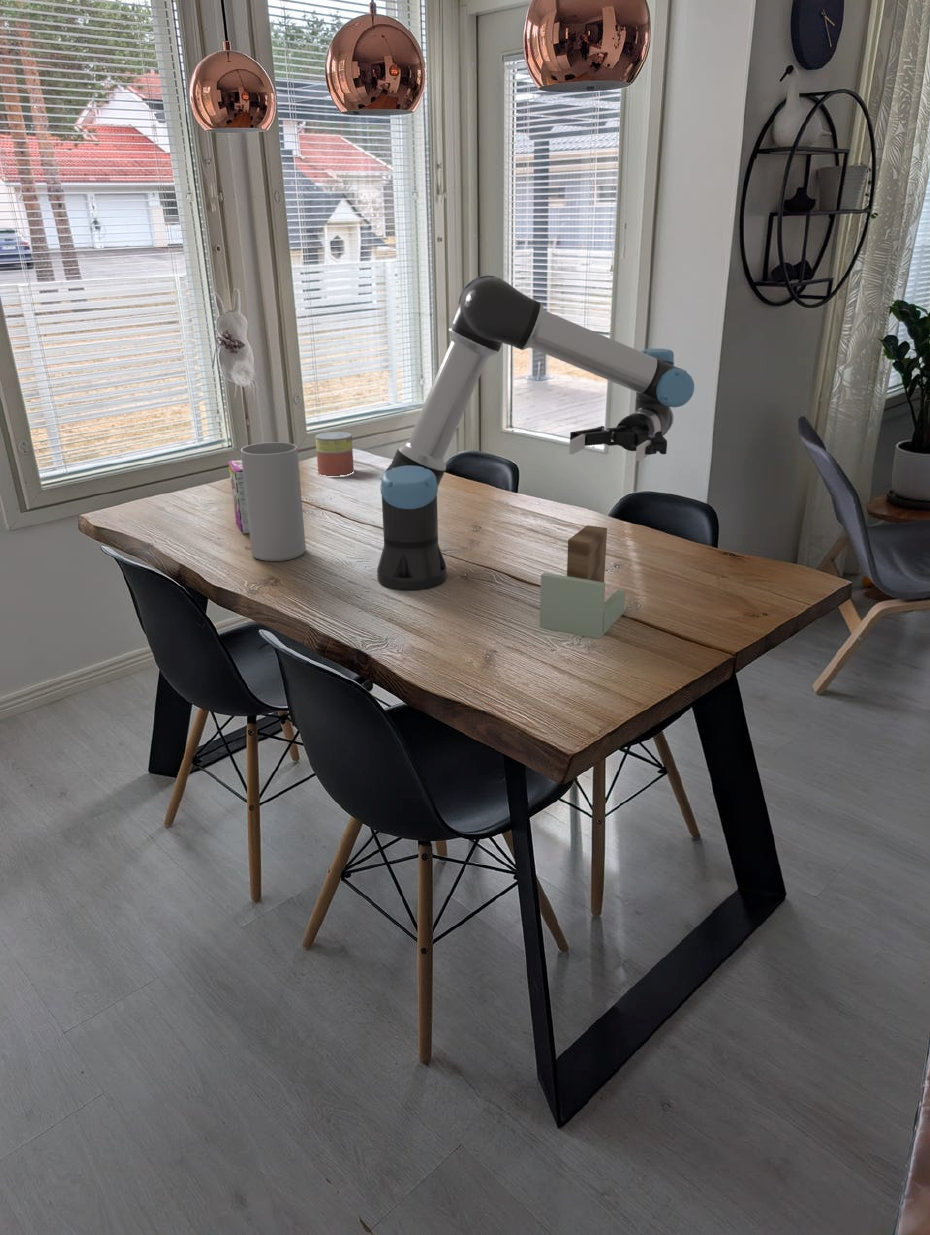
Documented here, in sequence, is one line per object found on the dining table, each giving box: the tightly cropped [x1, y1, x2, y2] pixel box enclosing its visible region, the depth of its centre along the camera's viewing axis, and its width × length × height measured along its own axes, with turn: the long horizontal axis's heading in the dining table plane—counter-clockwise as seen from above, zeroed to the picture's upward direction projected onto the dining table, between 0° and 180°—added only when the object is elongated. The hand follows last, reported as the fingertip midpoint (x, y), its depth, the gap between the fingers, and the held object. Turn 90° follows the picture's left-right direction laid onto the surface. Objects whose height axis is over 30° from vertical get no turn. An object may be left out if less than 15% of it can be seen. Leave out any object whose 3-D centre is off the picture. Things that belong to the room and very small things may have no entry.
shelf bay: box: [539, 572, 628, 640], centre depth 174 cm, size 16×12×11 cm
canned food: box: [314, 431, 355, 476], centre depth 282 cm, size 11×11×12 cm
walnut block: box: [566, 525, 608, 582], centre depth 172 cm, size 10×4×14 cm, turn 153°
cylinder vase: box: [240, 441, 307, 562], centre depth 209 cm, size 12×12×25 cm
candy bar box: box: [228, 459, 250, 535], centre depth 229 cm, size 11×5×16 cm, turn 22°
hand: (604, 450), depth 176 cm, fingers open, 13 cm apart
